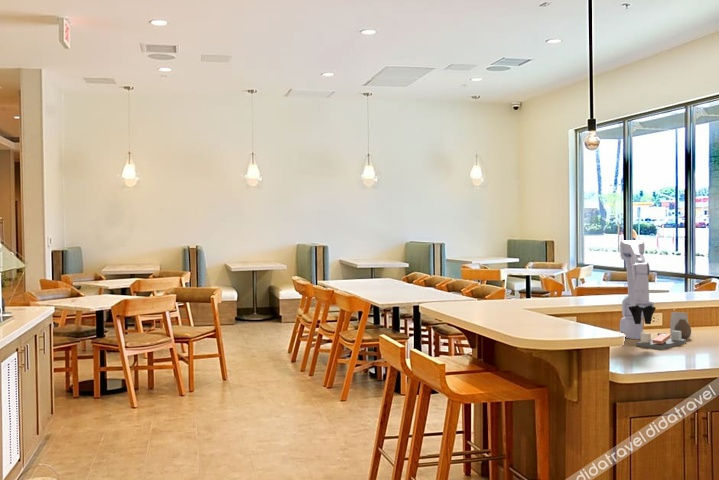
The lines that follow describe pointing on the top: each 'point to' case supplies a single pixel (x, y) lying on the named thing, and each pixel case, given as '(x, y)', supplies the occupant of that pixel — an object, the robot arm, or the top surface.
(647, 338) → the slotted cream block
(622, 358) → the top surface
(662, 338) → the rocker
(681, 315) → the grey rectangular block
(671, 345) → the console
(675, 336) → the slotted white box
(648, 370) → the top surface
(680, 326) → the vase
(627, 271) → the robot arm
